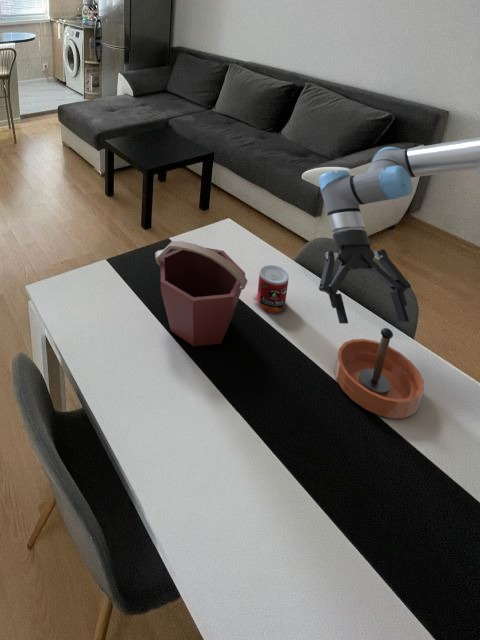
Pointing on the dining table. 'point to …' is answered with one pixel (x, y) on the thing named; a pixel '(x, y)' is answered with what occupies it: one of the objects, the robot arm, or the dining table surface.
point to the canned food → (272, 288)
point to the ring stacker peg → (378, 368)
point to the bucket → (199, 291)
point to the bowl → (396, 369)
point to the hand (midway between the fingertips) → (373, 322)
